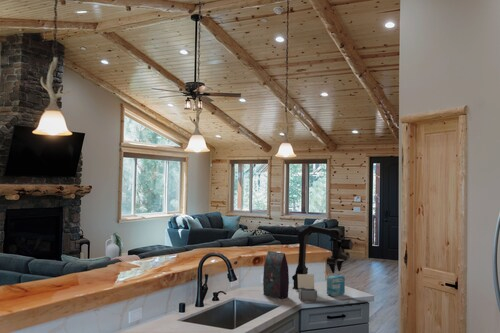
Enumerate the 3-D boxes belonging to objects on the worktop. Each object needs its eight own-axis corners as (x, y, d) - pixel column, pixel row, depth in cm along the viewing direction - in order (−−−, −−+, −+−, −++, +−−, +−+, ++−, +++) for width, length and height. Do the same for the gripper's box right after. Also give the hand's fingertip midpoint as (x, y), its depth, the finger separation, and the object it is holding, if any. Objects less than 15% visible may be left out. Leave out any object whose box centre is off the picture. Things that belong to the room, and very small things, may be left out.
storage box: (298, 297, 283) (298, 288, 284) (314, 297, 284) (314, 288, 284) (300, 301, 275) (301, 291, 276) (316, 301, 276) (316, 291, 276)
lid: (298, 287, 284) (297, 287, 285) (314, 287, 284) (314, 287, 286) (297, 274, 286) (297, 274, 287) (313, 274, 287) (313, 274, 288)
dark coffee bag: (271, 292, 297) (272, 250, 298) (289, 297, 284) (289, 253, 286) (262, 294, 291) (263, 251, 293) (280, 299, 279) (280, 254, 280)
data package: (331, 296, 289) (331, 277, 289) (326, 295, 292) (326, 276, 293) (344, 294, 295) (344, 276, 296) (339, 293, 299) (339, 274, 300)
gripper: (342, 251, 283) (341, 275, 282) (353, 248, 298) (353, 271, 297) (326, 249, 289) (325, 273, 289) (338, 246, 305) (338, 269, 304)
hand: (336, 272), depth 294 cm, fingers open, 9 cm apart
